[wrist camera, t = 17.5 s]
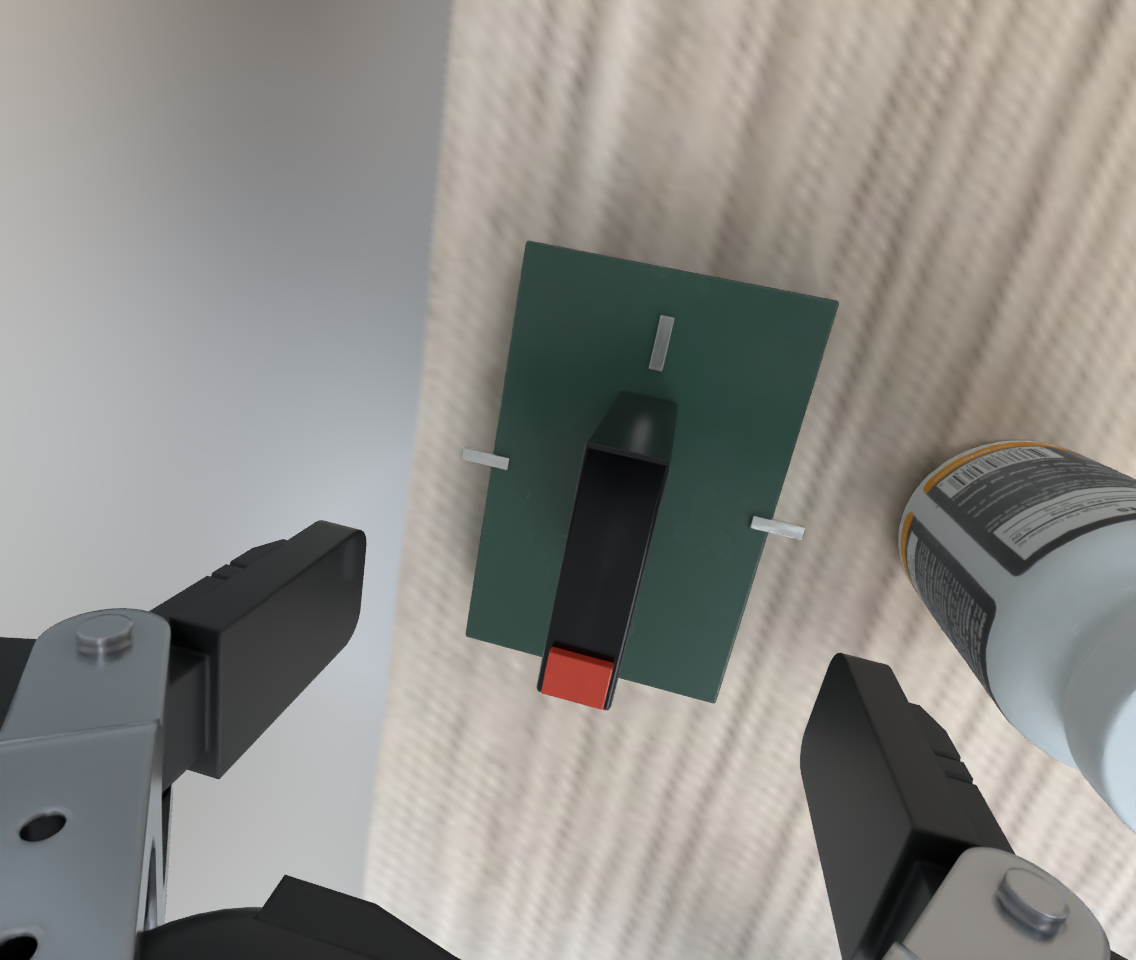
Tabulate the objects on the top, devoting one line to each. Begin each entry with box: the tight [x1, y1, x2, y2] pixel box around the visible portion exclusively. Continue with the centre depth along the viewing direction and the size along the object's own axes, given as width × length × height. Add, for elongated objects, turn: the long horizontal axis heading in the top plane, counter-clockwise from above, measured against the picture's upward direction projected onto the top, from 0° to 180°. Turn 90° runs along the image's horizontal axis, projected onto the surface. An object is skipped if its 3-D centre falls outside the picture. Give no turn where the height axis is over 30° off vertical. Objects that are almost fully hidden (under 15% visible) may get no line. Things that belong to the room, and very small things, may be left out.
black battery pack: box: [537, 391, 678, 710], centre depth 15 cm, size 6×2×6 cm, turn 169°
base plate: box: [462, 241, 839, 703], centre depth 19 cm, size 12×10×3 cm
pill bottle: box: [898, 440, 1136, 834], centre depth 15 cm, size 6×6×10 cm
